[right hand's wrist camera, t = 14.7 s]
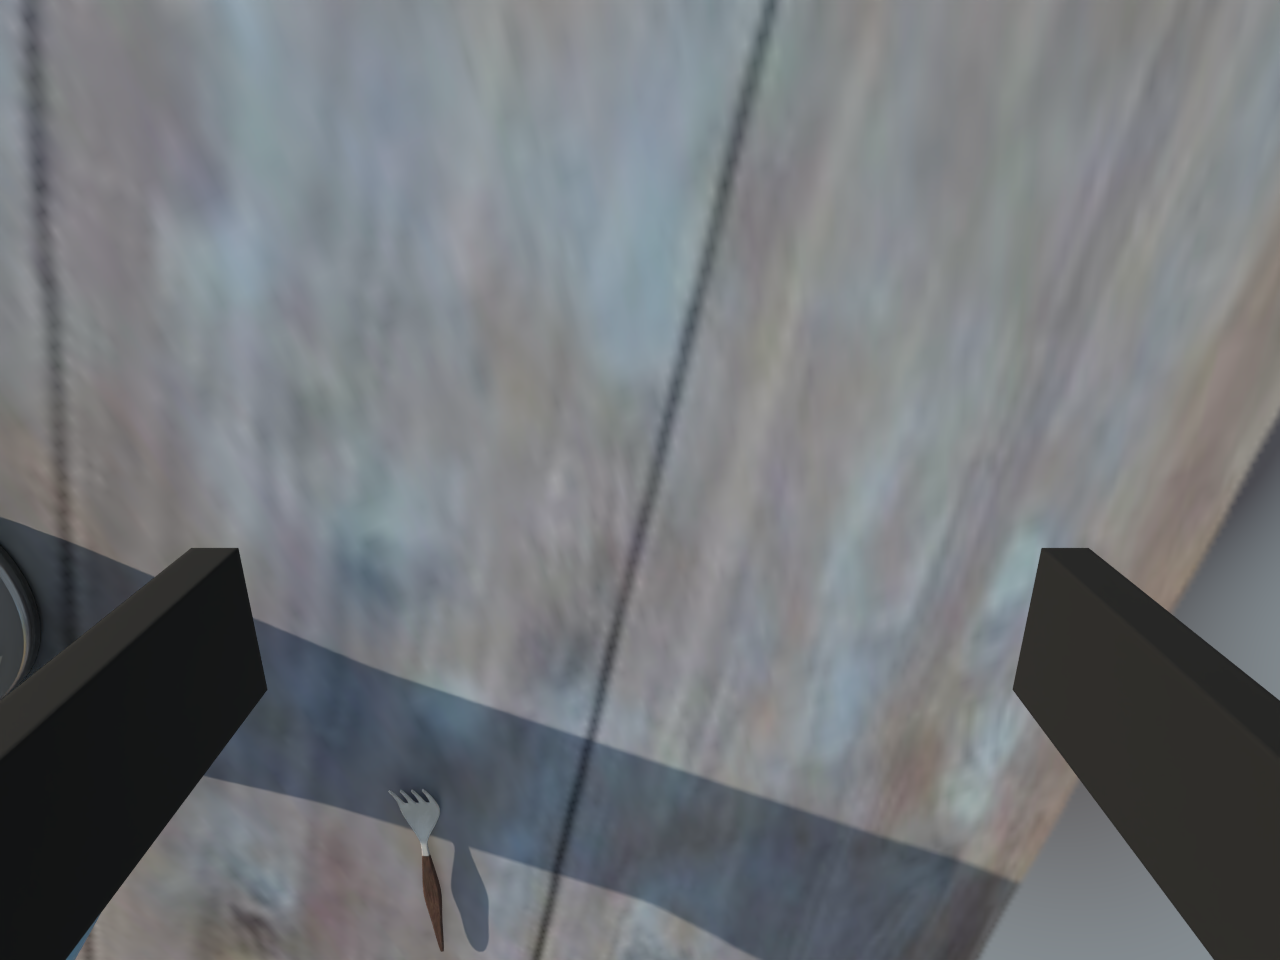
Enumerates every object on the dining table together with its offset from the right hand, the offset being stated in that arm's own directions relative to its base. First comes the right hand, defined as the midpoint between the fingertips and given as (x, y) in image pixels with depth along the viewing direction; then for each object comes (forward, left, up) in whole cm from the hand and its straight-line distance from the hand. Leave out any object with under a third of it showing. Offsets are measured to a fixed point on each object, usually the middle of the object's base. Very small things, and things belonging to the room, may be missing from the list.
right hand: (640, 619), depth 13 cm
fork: (+23, +32, -29) cm, 49 cm away
